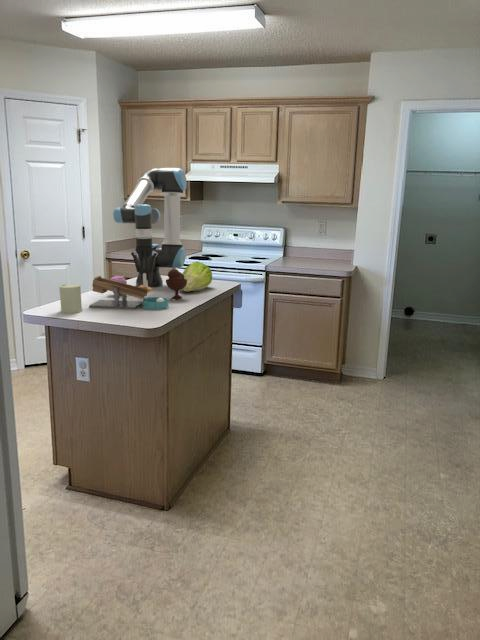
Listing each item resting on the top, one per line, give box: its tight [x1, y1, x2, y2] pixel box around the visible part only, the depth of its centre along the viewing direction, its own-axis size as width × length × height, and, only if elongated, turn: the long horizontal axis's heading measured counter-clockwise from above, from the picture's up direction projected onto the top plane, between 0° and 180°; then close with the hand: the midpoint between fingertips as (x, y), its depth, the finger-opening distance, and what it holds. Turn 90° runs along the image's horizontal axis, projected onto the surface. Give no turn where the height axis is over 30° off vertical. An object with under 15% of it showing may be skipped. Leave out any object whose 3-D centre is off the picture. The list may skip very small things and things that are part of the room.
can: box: [58, 283, 83, 314], centre depth 229 cm, size 9×9×12 cm
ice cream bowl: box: [165, 268, 187, 301], centre depth 256 cm, size 11×11×15 cm
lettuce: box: [181, 260, 213, 292], centre depth 279 cm, size 15×24×16 cm
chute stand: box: [88, 287, 143, 310], centre depth 240 cm, size 13×22×10 cm, turn 83°
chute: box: [91, 275, 154, 300], centre depth 244 cm, size 17×24×6 cm
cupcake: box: [109, 275, 128, 296], centre depth 264 cm, size 9×9×10 cm
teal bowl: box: [141, 296, 169, 311], centre depth 239 cm, size 12×12×4 cm
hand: (145, 286), depth 248 cm, fingers closed
